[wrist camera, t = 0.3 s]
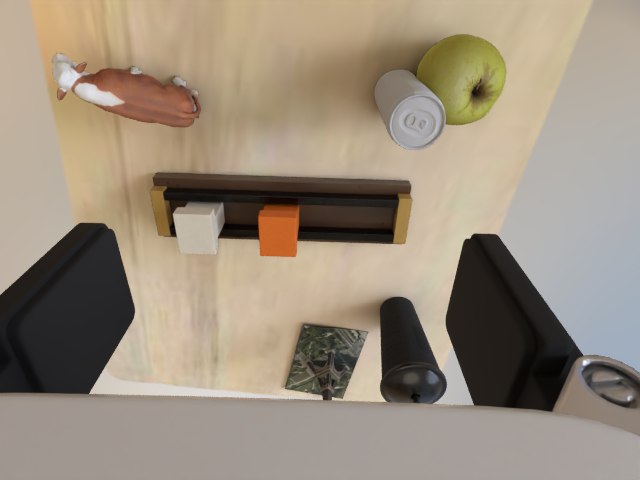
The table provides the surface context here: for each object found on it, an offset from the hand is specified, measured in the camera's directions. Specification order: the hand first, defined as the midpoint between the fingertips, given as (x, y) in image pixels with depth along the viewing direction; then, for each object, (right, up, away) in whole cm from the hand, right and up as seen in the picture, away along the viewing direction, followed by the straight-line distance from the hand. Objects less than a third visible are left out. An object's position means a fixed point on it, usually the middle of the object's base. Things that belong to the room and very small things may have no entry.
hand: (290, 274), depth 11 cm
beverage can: (+9, +17, +32) cm, 38 cm away
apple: (+14, +18, +31) cm, 39 cm away
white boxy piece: (-13, +4, +38) cm, 40 cm away
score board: (-4, +5, +40) cm, 40 cm away
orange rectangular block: (-4, +4, +38) cm, 38 cm away
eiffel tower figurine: (+2, -18, +54) cm, 57 cm away
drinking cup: (+12, -9, +48) cm, 50 cm away
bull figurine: (-17, +18, +32) cm, 41 cm away
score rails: (-4, +4, +38) cm, 39 cm away
